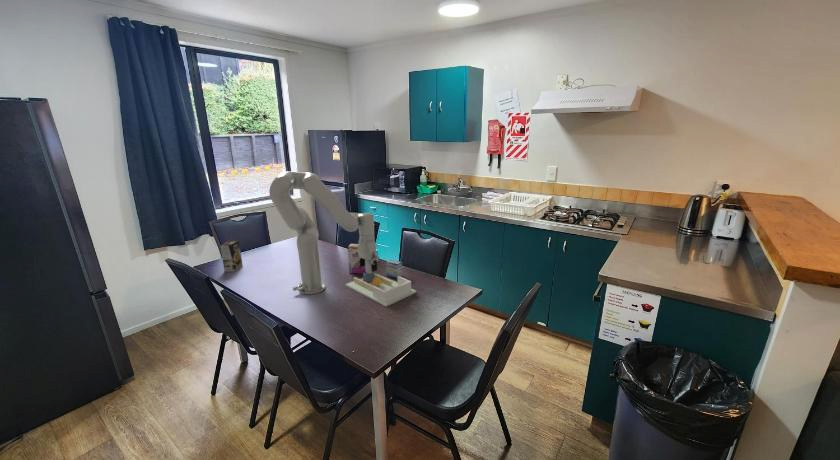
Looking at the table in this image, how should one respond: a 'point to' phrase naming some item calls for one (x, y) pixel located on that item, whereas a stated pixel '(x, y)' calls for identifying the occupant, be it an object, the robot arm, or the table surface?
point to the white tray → (383, 289)
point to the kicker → (368, 272)
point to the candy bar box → (355, 260)
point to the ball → (376, 281)
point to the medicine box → (393, 268)
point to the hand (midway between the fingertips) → (368, 268)
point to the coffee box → (231, 256)
